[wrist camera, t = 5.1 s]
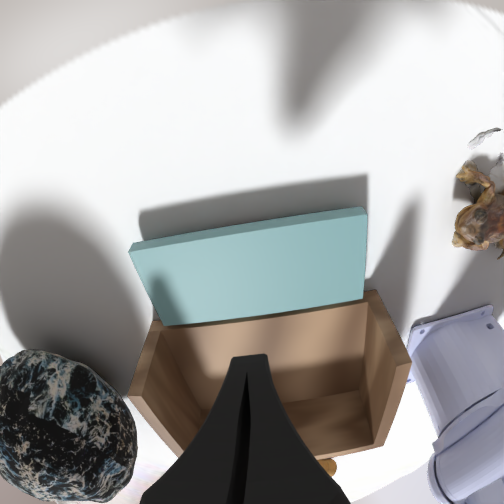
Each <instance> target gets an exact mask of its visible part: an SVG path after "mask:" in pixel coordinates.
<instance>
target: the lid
mask: <svg viewBox="0 0 504 504" xmlns="http://www.w3.org/2000/svg"><path fill="white" fill-rule="evenodd" d="M366 242H367V213H366V212H365V210H364V209H363V207H362V206H360V207H353V208H346V209H338V210H331V211H324V212H317V213H310V214H303V215H297V216H290V217H283V218H277V219H270V220H264V221H258V222H251V223H245V224H239V225H233V226H227V227H221V228H215V229H209V230H203V231H197V232H191V233H186V234H180V235H174V236H169V237H163V238H158V239H152V240H147V241H141V242H136V243H133V244H132V246H131V248H130V250H129V252H128V253H129V255H130V257H131V259H132V262H133V264H134V266H135V268H136V270H137V273H138V275H139V277H140V279H141V281H142V283H143V285H144V287H145V289H146V292H147V294H148V296H149V298H150V300H151V302H152V304H153V306H154V308H155V310H156V312H157V314H158V316H159V318H160V319H161V321H162V323H163V325H164V326H170V325H181V324H191V323H200V322H209V321H218V320H227V319H235V318H243V317H250V316H258V315H265V314H272V313H279V312H286V311H293V310H299V309H305V308H312V307H318V306H324V305H330V304H335V303H341V302H347V301H352V300H358V299H363V290H364V277H365V262H366Z"/></svg>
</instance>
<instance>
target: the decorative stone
mask: <svg viewBox="0 0 504 504" xmlns="http://www.w3.org/2000/svg"><path fill="white" fill-rule="evenodd" d="M137 449H138V446H137V431H136V426H135V421H134V419H133V417H132V415H131V412H130V410H129V409H128V407H127V405H126V404H125V402H124V401H123V400H122V398H121V397H120V395H119V394H118V392H117V391H116V390H115V389H114V388H113V387H112V386H111V385H109V384H108V383H107V382H106V381H104V380H103V379H102V378H101V377H100V376H99V375H98V374H97V373H95V372H94V371H93V370H92V369H91V368H90V367H88V366H86V365H85V364H83V363H80V362H75V361H71V360H69V359H67V358H65V357H63V356H60V355H58V354H54V353H50V352H46V351H43V350H23V351H21V352H19V353H17V354H16V355H15V356H13V357H11V358H8V359H7V360H6V361H5V362H4V363H3V364H2V366H0V475H1V476H2V477H3V478H4V479H5V480H6V481H7V482H8V483H10V484H11V485H13V486H15V487H16V488H18V489H19V490H21V491H23V492H24V493H27V494H29V495H31V496H33V497H35V498H38V499H40V500H42V501H94V502H99V503H105V502H108V501H110V500H112V499H113V498H114V497H115V495H116V494H117V493H119V492H120V491H121V490H122V489H123V488H124V487H125V486H126V485H127V484H128V483H129V482H130V480H131V478H132V475H133V470H134V464H135V461H136V457H137Z"/></svg>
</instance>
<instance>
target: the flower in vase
mask: <svg viewBox="0 0 504 504" xmlns="http://www.w3.org/2000/svg"><path fill="white" fill-rule="evenodd" d="M56 502H57V504H81V503H80V502H79V501H56Z"/></svg>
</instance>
